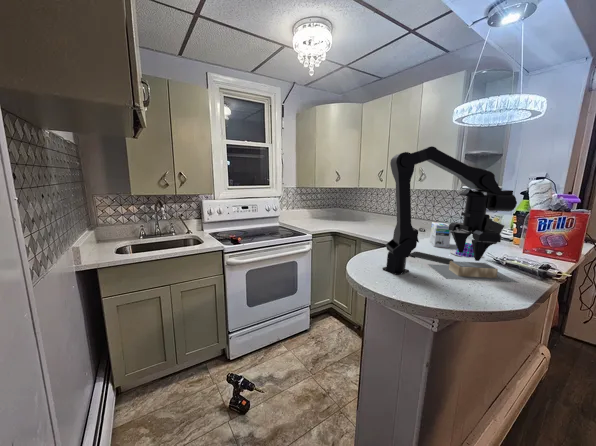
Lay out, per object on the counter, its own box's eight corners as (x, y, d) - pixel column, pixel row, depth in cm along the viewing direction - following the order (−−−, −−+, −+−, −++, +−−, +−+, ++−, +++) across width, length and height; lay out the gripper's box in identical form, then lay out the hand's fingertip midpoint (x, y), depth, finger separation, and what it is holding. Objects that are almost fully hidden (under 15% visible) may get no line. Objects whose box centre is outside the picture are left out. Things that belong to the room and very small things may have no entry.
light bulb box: (449, 248, 119) (452, 226, 117) (433, 247, 121) (436, 225, 119) (443, 243, 129) (445, 222, 127) (428, 242, 131) (431, 221, 129)
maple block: (459, 266, 82) (498, 268, 81) (449, 260, 88) (485, 262, 87) (458, 275, 82) (496, 277, 81) (448, 269, 88) (484, 271, 87)
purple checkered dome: (484, 255, 109) (486, 244, 108) (480, 261, 100) (482, 249, 99) (453, 250, 117) (454, 239, 116) (447, 255, 108) (448, 243, 107)
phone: (415, 251, 109) (454, 259, 99) (415, 253, 109) (453, 262, 99) (407, 254, 104) (448, 263, 93) (407, 257, 104) (447, 266, 93)
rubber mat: (446, 279, 80) (446, 278, 80) (427, 265, 93) (427, 264, 93) (519, 283, 78) (519, 282, 78) (488, 268, 92) (489, 267, 92)
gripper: (525, 215, 71) (515, 267, 74) (482, 208, 90) (476, 250, 92) (484, 213, 72) (476, 265, 75) (450, 207, 91) (445, 248, 93)
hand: (468, 256), depth 84 cm, fingers open, 9 cm apart
